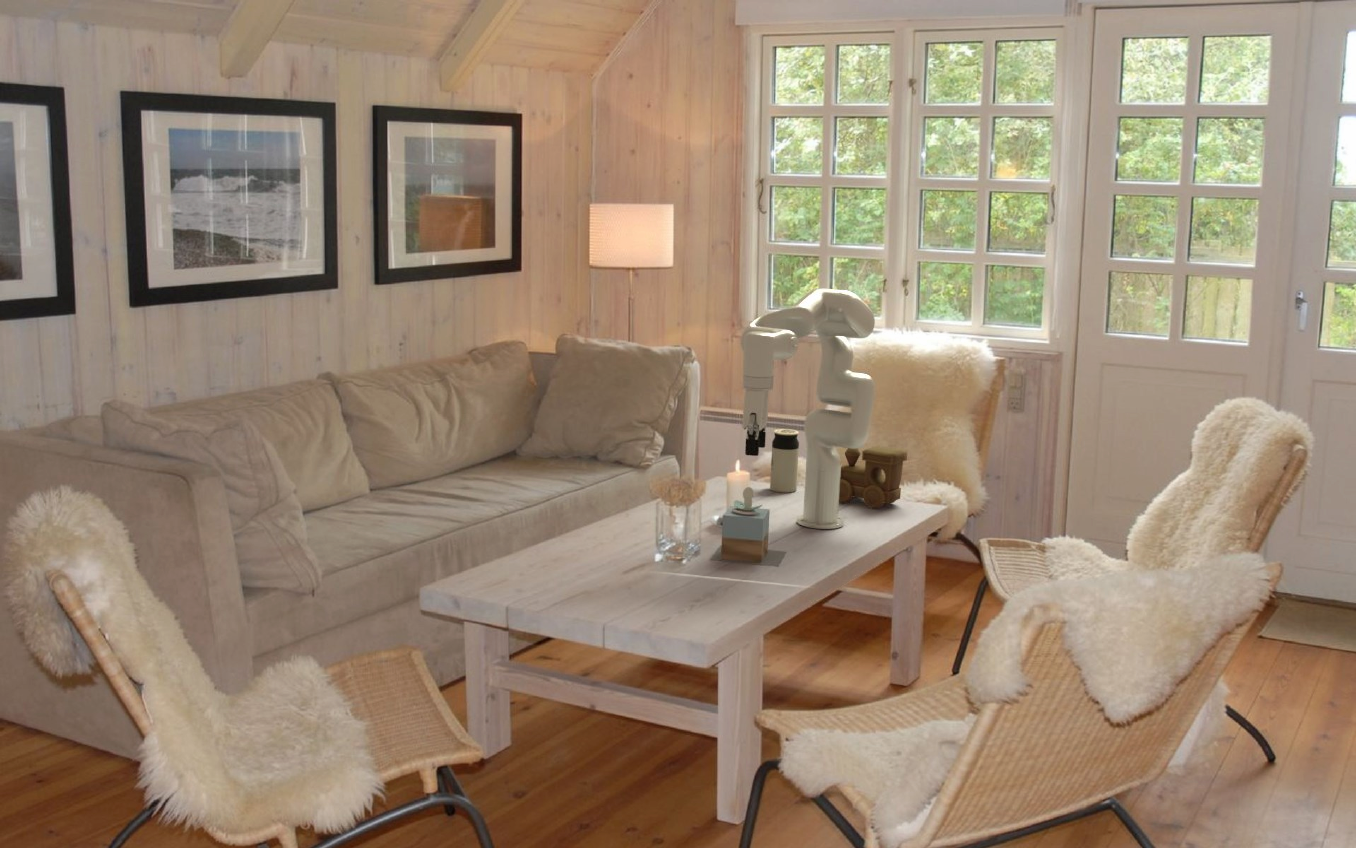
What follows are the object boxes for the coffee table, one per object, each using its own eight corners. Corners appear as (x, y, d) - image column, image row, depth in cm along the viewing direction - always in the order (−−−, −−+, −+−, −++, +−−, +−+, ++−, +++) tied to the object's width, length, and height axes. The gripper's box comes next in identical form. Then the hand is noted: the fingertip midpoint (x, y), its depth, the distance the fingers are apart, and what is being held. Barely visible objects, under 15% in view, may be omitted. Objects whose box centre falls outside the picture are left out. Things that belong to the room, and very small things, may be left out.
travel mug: (799, 488, 425) (802, 430, 421) (792, 494, 417) (795, 434, 414) (774, 485, 427) (777, 427, 424) (766, 491, 420) (769, 432, 417)
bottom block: (728, 548, 354) (729, 527, 353) (767, 552, 352) (768, 530, 351) (720, 558, 344) (721, 537, 343) (761, 562, 342) (762, 540, 341)
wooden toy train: (905, 505, 408) (909, 449, 405) (887, 512, 399) (891, 455, 396) (844, 494, 419) (848, 440, 416) (826, 501, 410) (829, 445, 407)
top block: (729, 527, 353) (730, 506, 352) (768, 530, 351) (769, 509, 350) (721, 537, 343) (722, 515, 342) (762, 540, 341) (763, 518, 340)
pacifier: (752, 518, 341) (764, 512, 346) (753, 493, 340) (765, 488, 345) (726, 513, 345) (738, 508, 350) (727, 488, 344) (739, 483, 349)
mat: (720, 547, 356) (720, 545, 356) (786, 553, 353) (786, 551, 353) (709, 562, 343) (709, 560, 343) (778, 568, 339) (778, 566, 339)
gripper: (748, 376, 351) (746, 443, 354) (736, 387, 334) (733, 457, 338) (778, 378, 349) (775, 445, 353) (767, 389, 333) (764, 459, 336)
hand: (755, 451), depth 345 cm, fingers open, 9 cm apart
